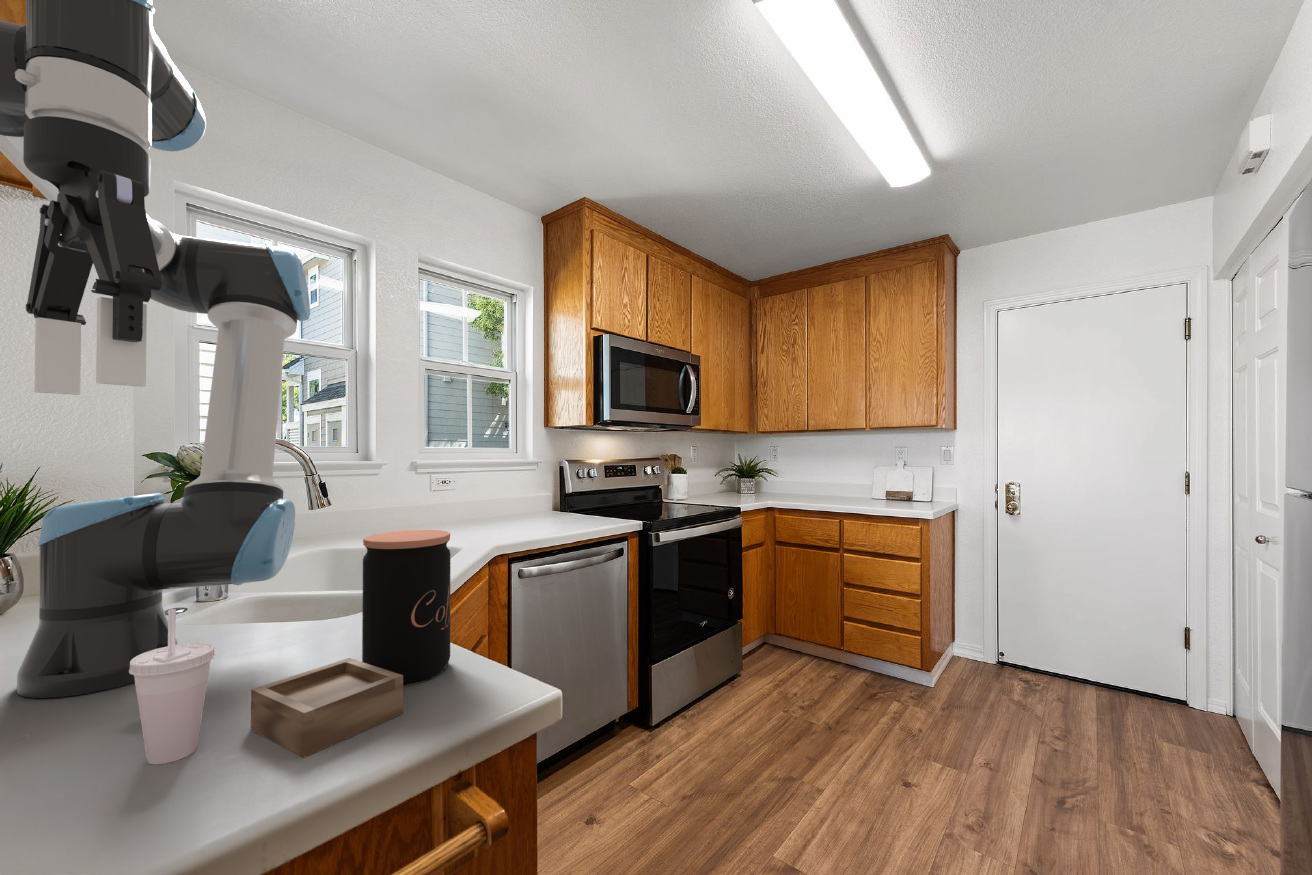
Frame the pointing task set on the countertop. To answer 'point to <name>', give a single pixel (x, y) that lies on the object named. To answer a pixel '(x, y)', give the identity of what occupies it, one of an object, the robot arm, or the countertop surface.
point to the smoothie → (171, 695)
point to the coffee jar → (407, 603)
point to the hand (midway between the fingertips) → (87, 390)
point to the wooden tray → (325, 705)
